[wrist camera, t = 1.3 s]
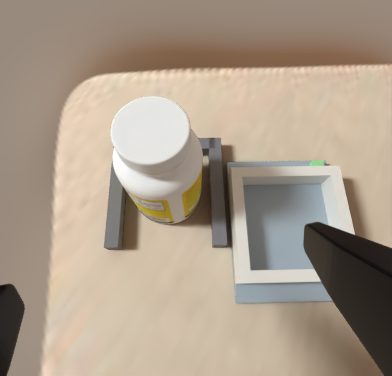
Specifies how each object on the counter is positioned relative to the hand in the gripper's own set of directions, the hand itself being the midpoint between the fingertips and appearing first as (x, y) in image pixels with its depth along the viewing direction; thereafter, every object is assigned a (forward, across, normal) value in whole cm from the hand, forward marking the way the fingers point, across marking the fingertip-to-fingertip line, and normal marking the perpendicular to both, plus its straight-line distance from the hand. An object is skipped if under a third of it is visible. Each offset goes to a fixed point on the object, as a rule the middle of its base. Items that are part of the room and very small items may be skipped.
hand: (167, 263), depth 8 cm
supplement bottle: (+14, 0, +4) cm, 15 cm away
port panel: (+10, -9, +7) cm, 15 cm away
